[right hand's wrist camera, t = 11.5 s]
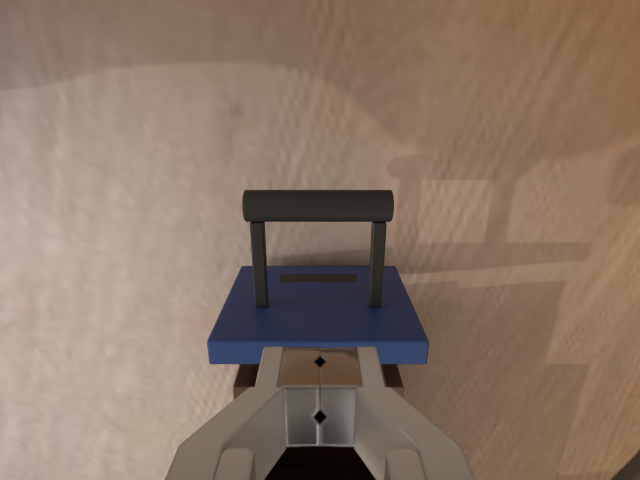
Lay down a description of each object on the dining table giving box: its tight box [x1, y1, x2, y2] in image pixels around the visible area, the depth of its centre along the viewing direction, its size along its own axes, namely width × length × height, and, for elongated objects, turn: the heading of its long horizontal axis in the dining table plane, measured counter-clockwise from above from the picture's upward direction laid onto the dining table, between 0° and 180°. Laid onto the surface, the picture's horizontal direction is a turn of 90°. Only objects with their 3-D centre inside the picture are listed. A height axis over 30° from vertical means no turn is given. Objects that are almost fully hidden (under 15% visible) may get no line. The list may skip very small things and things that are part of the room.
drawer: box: [207, 190, 429, 480], centre depth 22 cm, size 22×10×8 cm, turn 0°
